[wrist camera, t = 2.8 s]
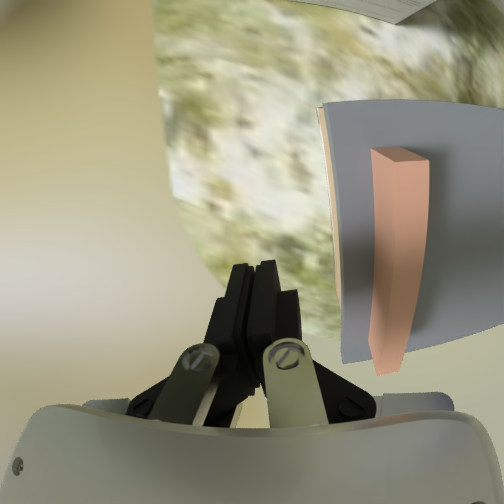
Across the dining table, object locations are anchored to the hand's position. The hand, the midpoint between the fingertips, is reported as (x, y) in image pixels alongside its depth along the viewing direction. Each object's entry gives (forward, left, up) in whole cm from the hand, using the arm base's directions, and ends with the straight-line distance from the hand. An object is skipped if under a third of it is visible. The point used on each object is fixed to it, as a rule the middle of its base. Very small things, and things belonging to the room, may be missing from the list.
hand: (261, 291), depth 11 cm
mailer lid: (-12, 0, -2) cm, 12 cm away
